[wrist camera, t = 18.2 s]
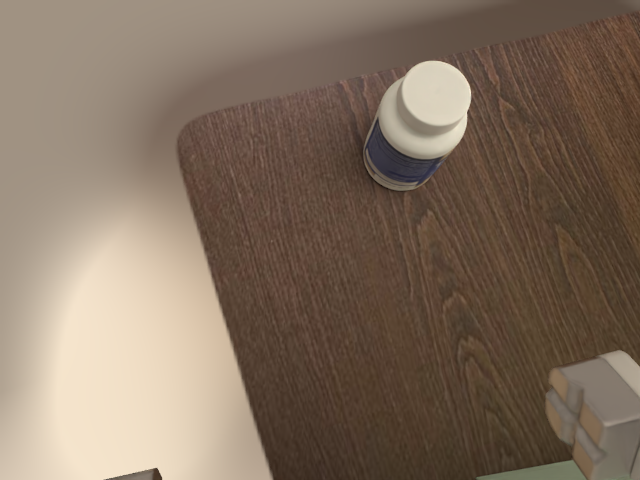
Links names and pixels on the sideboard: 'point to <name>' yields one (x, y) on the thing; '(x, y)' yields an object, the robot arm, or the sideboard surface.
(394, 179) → the pill bottle
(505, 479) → the mini fridge
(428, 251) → the sideboard surface
